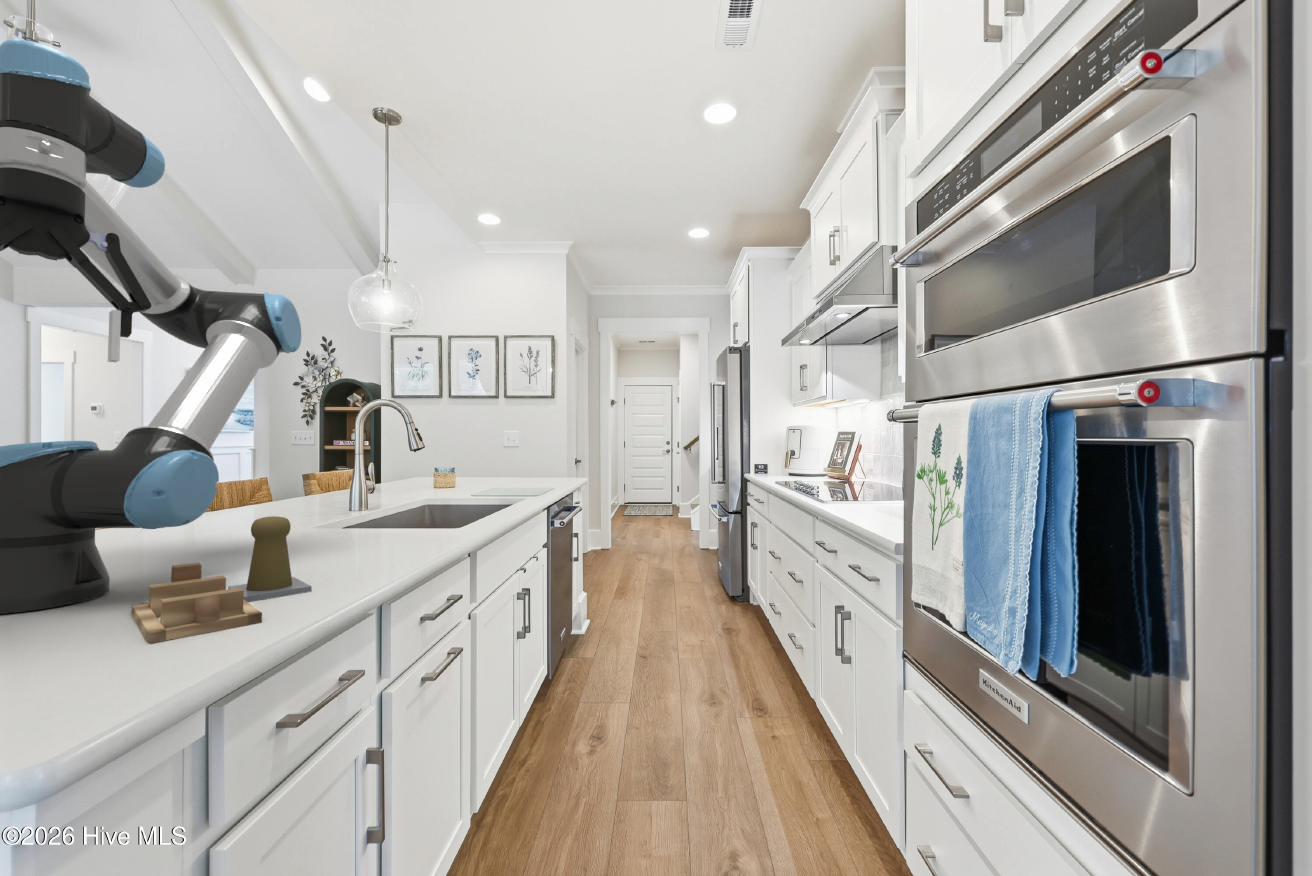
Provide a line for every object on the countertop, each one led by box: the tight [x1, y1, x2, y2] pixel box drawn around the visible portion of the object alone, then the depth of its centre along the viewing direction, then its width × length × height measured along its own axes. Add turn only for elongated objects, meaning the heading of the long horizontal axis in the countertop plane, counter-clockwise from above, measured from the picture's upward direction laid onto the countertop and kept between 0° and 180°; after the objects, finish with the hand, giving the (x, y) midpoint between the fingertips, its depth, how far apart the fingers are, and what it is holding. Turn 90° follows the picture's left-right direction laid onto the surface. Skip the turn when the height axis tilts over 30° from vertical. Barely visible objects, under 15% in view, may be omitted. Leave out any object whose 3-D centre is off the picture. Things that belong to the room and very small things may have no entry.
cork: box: [246, 515, 293, 591], centre depth 87 cm, size 6×6×11 cm
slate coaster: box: [227, 576, 312, 603], centre depth 87 cm, size 9×9×1 cm
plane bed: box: [130, 562, 263, 644], centre depth 74 cm, size 17×11×6 cm, turn 49°
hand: (35, 353), depth 66 cm, fingers open, 13 cm apart
